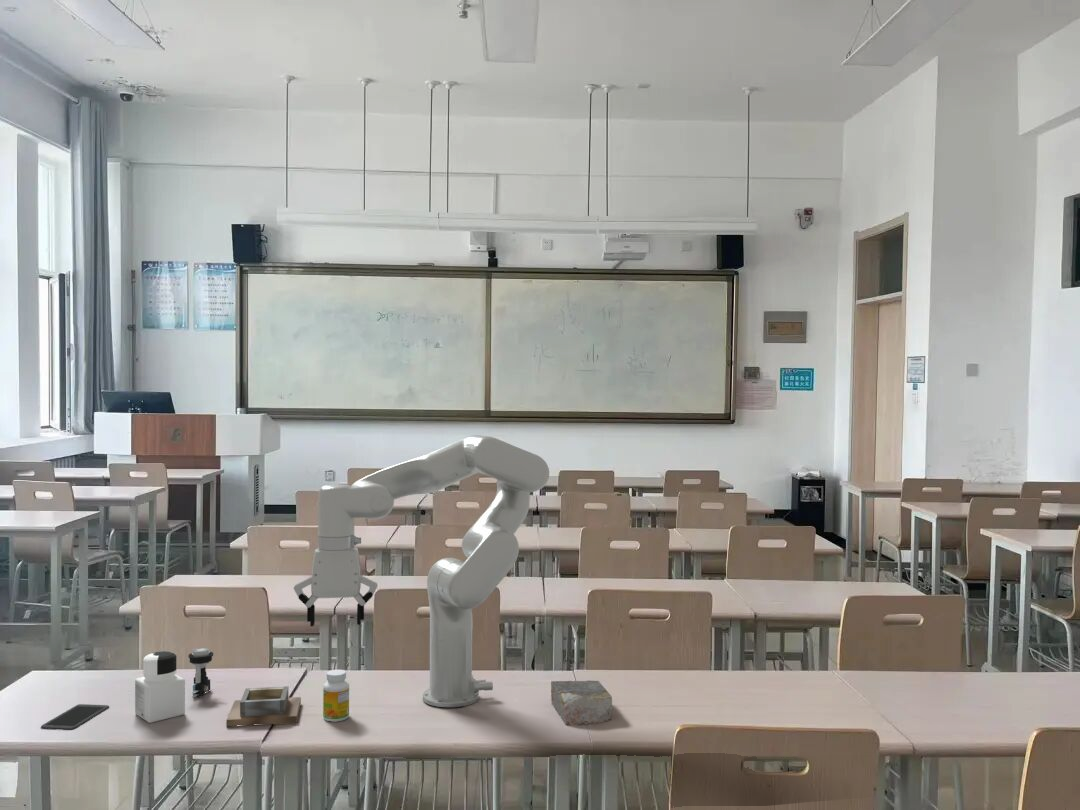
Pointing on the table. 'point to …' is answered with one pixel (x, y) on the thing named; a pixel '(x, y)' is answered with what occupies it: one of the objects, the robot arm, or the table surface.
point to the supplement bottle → (336, 696)
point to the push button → (200, 670)
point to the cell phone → (75, 717)
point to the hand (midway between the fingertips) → (335, 624)
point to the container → (159, 688)
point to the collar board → (264, 707)
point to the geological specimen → (581, 702)
